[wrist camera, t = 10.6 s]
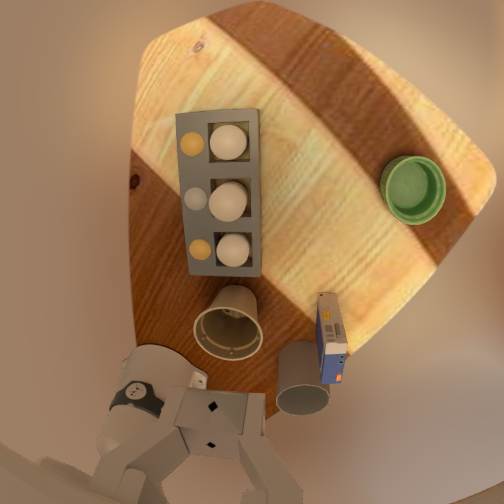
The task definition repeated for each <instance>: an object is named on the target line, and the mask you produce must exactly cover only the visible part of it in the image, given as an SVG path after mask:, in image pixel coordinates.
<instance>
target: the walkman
mask: <svg viewBox="0 0 504 504" xmlns="http://www.w3.org/2000/svg"><path fill="white" fill-rule="evenodd" d="M316 340H317V349H318V358H319V368H320V378H321V384H334V383H340V382H341V378H342V373H343V367H344V363H345V357H346V350H347V345H348V342H347V338H346V334H345V329H344V325H343V321H342V317H341V313H340V309H339V305H338V302H337V298H336V294H335V293H327V292H319V293H318V305H317V320H316Z"/></svg>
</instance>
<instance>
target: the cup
mask: <svg viewBox="0 0 504 504" xmlns="http://www.w3.org/2000/svg"><path fill="white" fill-rule="evenodd" d="M329 401H330V389H329V384H321V378H320V368H319V358H318V349H317V344H316V343H314V342H310V341H304V340H303V341H297V342H292V343H290V344H288V345H287V346H285V347H283V349H282V350H281V351H280V353H279V357H278V379H277V399H276V405H277V406H278V407H279V409H280V410H281V411H283V412H285V413H287V414H290V415H296V416H305V415H312V414H315V413H317V412H320V411H322V410H323V409H324V408H325V407H326V406H327V405H328V404H329Z"/></svg>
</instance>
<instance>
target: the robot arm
mask: <svg viewBox="0 0 504 504" xmlns="http://www.w3.org/2000/svg"><path fill="white" fill-rule="evenodd" d="M121 367H122V368H123V371H122V373H121V376H120V378H119V380H118V383H117V385H116V388H115V392H116V395H115V397H114V398H113V400H112V403H111V405H110V408H109V410H110V413H109V415H108V417H107V419H106V421H105V423H104V425H103V427H102V429H101V431H100V433H99V435H98V437H97V441H96V445H97V450H98V452H99V454H100V456H101V459H100V461H99V463H98V465H97V467H96V470H95V472H94V474H93V476H90V475H88V474H86V473H84V472H82V471H80V470H79V469H76V468H75V467H73V466H70V465H68V464H65V463H63V462H60V461H58V460H55V459H53V458H50V457H42V458H39V459H36V460H35V461H33V462H32V461H30V460H28V459H27V458H25V457H23V456H22V455H20V454H18V453H17V452H15V451H14V450H12V449H11V448H9V447H8V446H6V445H5V444H3V443H2V442H0V504H169V502H168V500H167V498H166V496H165V494H164V491H163V488H162V484H161V482H162V481H163V480H164V479H165V478H166V477H167V476H168V475H170V473H172V472H173V471H174V470H175V469H176V468H177V467H178V466H179V465H180V464H181V463H182V462H183V461H185V459H187V458H188V457H189V454H192V455H200V456H208V457H216V458H224V459H231V460H240V462H241V464H242V466H243V468H244V469H245V471H246V473H247V475H248V477H249V479H250V481H251V482H252V484H253V486H254V488H255V490H248V489H247V490H246V491H244V492H243V493H242V498H241V503H240V504H303V489H302V488H301V487H300V485H299V484H298V483H297V481H296V480H295V478H294V477H293V475H292V474H291V473H290V471H289V470H288V468H287V467H286V466H285V464H284V463H283V461H282V460H281V458H280V457H279V455H278V454H277V452H276V451H275V449H274V448H273V446H272V445H271V443H270V442H269V440H268V439H267V437H264V429H265V394H264V393H249V392H232V391H219V390H218V391H213V390H206V389H207V380H208V375H207V374H206V373H205V372H204V371H202V370H200V369H198V368H196V367H194V366H193V365H192V364H191V363H190V362H189V361H188V360H186V359H185V358H184V357H183V356H181V355H180V354H178V353H177V352H175V351H173V350H171V349H168V348H166V347H162V346H158V345H142V346H139V347H137V348H135V349H134V350H133V351H132V353H131V355H130V357H129V358H127V359H125V360H123V361H122V364H121ZM451 504H504V481H503V482H501V483H499V484H497V485H495V486H492V487H490V488H488V489H486V490H483V491H481V492H479V493H476V494H474V495H472V496H469V497H467V498H464V499H461V500H459V501H456V502H453V503H451Z"/></svg>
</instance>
